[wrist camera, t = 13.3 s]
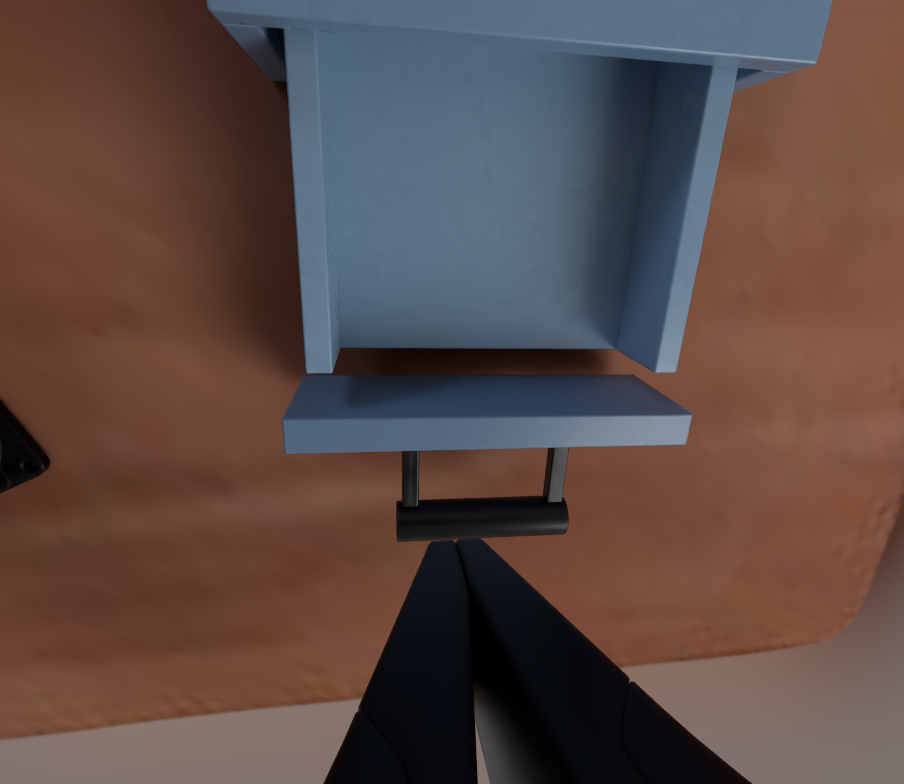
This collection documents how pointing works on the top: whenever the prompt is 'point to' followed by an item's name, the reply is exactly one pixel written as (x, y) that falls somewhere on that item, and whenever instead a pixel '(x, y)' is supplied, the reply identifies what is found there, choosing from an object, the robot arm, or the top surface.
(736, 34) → the cabinet
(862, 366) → the top surface
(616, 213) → the drawer
